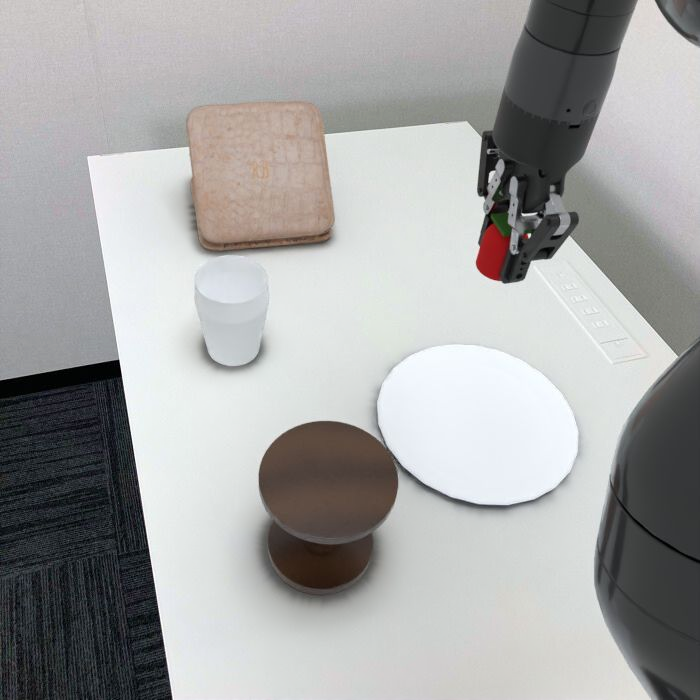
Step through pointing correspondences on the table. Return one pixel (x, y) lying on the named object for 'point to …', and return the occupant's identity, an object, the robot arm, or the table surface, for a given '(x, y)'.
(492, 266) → the strawberry
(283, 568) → the stand
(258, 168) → the case
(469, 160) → the table surface
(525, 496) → the plate
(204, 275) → the cup
